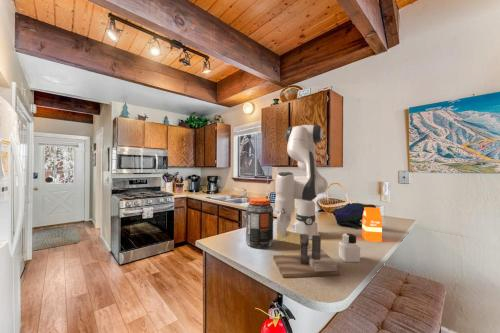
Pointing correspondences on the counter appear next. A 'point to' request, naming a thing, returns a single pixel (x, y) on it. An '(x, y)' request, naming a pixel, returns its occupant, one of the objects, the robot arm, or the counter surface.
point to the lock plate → (307, 262)
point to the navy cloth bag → (351, 214)
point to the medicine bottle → (349, 249)
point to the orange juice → (372, 224)
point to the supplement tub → (259, 223)
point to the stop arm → (294, 238)
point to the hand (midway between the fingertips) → (283, 237)
